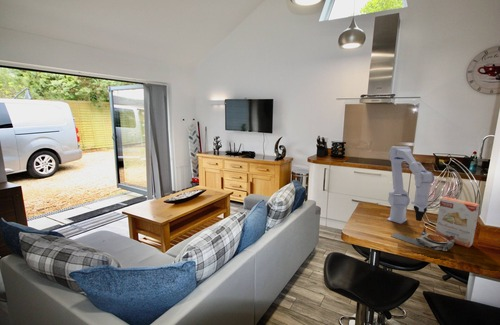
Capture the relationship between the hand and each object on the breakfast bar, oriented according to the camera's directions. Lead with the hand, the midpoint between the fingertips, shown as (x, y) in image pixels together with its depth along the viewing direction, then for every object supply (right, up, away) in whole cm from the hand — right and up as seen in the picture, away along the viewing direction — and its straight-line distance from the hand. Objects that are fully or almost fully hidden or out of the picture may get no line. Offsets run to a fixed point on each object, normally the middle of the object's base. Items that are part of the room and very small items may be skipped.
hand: (418, 220), depth 130 cm
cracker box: (+14, -9, -5) cm, 17 cm away
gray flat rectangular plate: (-8, -9, -4) cm, 13 cm away
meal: (-2, -6, -3) cm, 7 cm away
